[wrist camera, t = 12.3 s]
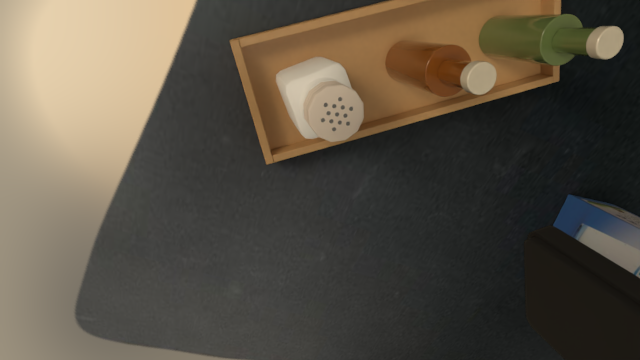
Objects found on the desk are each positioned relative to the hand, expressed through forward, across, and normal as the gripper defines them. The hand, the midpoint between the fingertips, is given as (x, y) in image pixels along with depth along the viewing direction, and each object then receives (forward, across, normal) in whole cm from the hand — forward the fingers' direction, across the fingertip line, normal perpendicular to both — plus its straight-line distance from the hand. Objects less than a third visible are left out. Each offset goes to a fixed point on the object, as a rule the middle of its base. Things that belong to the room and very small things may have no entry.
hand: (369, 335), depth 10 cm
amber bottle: (+23, -12, -2) cm, 26 cm away
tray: (+23, -12, -2) cm, 26 cm away
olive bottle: (+22, -20, -2) cm, 30 cm away
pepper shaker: (+23, -4, -2) cm, 23 cm away
